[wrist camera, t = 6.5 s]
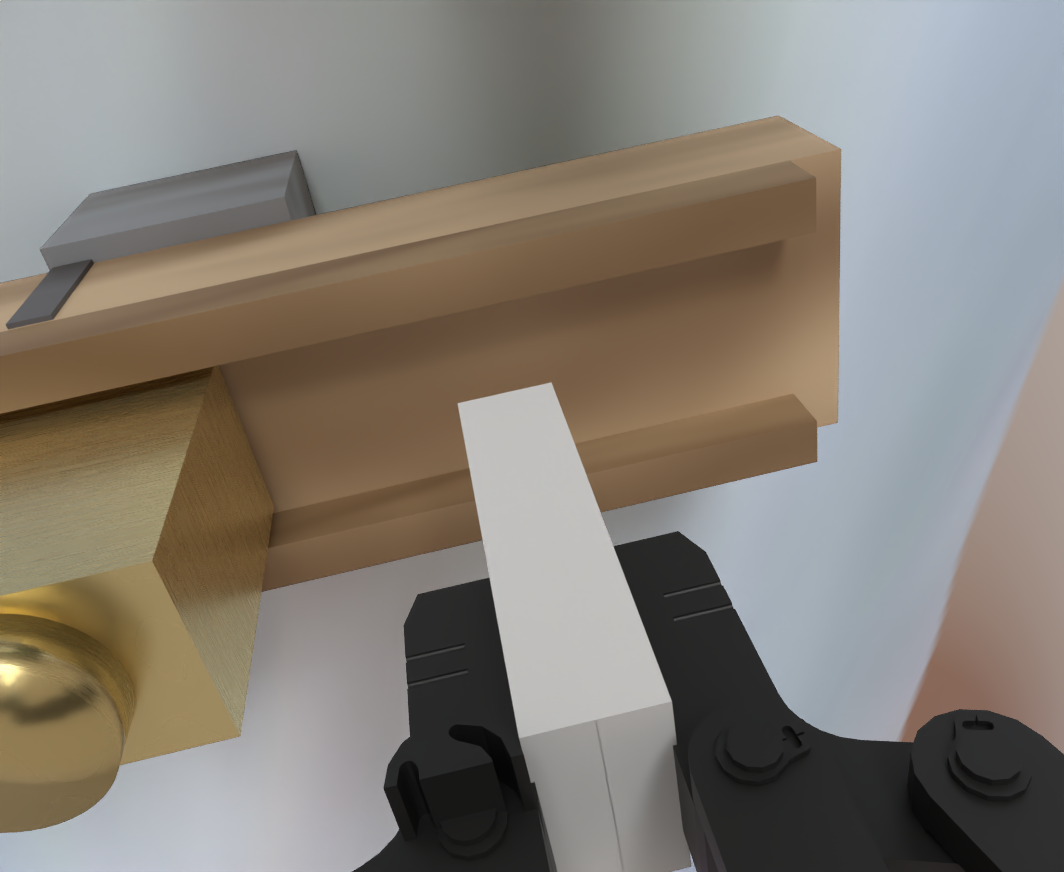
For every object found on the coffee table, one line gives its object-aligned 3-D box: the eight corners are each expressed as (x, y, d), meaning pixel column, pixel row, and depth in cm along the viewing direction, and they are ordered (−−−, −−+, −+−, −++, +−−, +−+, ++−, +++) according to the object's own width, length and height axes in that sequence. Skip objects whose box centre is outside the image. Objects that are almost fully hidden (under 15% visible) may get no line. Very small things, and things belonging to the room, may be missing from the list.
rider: (-57, 419, 17) (-291, 712, 11) (215, 358, 17) (136, 612, 11) (29, 562, 18) (-131, 881, 12) (273, 505, 19) (232, 792, 13)
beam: (-358, 288, 21) (-834, 549, 13) (715, 61, 23) (928, 162, 14) (-185, 523, 25) (-466, 846, 17) (730, 317, 26) (905, 520, 18)
